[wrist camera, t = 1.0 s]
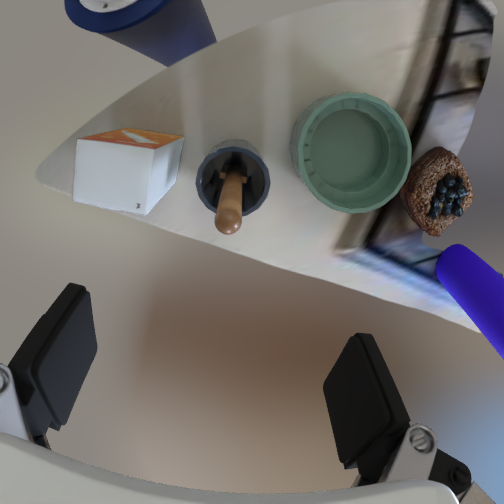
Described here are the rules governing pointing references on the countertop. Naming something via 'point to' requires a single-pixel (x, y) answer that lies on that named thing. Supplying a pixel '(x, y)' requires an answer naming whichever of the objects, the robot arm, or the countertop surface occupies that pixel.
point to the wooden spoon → (230, 199)
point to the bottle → (475, 290)
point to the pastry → (436, 190)
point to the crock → (212, 183)
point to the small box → (126, 169)
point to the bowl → (351, 151)
